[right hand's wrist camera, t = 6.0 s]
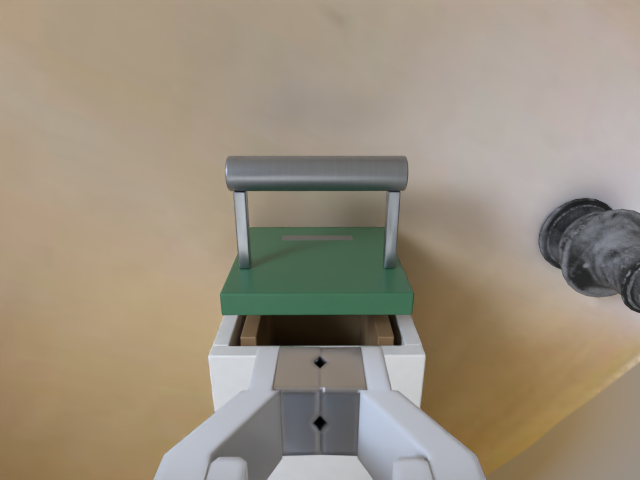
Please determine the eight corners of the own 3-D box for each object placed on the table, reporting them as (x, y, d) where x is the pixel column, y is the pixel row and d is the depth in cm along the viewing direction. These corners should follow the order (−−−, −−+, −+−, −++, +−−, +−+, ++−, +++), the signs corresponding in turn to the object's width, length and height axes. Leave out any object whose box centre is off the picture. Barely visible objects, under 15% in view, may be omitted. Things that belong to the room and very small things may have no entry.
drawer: (243, 137, 26) (207, 169, 18) (390, 137, 26) (426, 169, 18) (261, 414, 34) (242, 529, 26) (374, 414, 34) (393, 528, 26)
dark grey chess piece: (637, 206, 29) (840, 291, 18) (594, 281, 31) (751, 400, 20) (558, 183, 28) (717, 256, 17) (520, 261, 30) (638, 372, 19)
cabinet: (244, 259, 30) (207, 356, 20) (389, 259, 30) (426, 355, 20) (257, 442, 37) (234, 588, 26) (377, 442, 37) (401, 587, 26)
